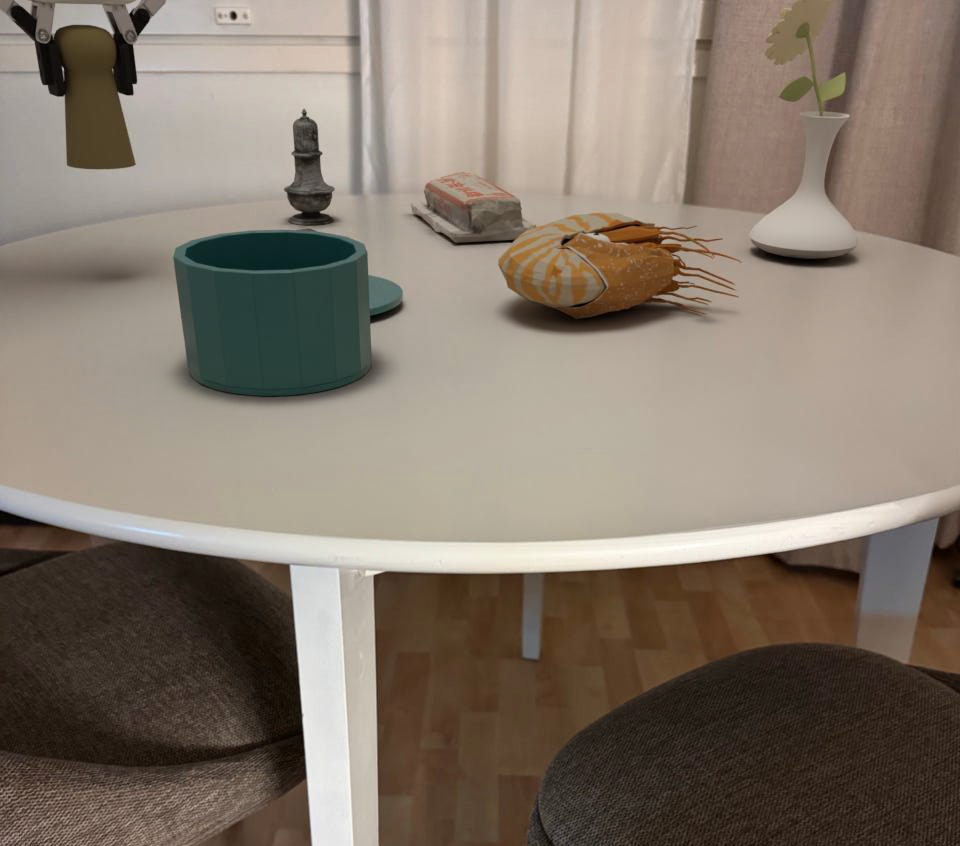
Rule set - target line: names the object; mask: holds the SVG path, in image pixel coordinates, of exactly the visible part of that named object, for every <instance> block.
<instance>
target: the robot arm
mask: <svg viewBox="0 0 960 846" xmlns="http://www.w3.org/2000/svg"><path fill="white" fill-rule="evenodd" d="M28 1H29V2H30V3H31V4H30V10H29V11H30V12H29V11H28V10H27V9H25V8H24V7H23V6H21V5H20V4H19V3H18V2H16V1H15V0H0V11H1V12H2V13H3V14H5V15H6V16H7V17H8V18H9V19H10V20H11V21H12V22H13V23H14V24H15V25H17V26H18V27H19V29H21V30H22V32H24V33H25V35H27V36H28V37H29V39H30V40H31V41H33V42H34V47H35V54H36V60H37V65H38V66H37V67H38V72H39V78H40V81H41V84H42V85H43V86H47V89H48V93H49V95H52V96H53V97H57V98H59V97H60V98H61V97H63V98H65V95H66V90H65V84H64V70H63V67H62V64H61V57H60V51H59V46H58V45H56V44H55V43H54V40H53V39H54V35H53V34H52V31H53V24H54V23H53V22H54V16H55V10H56V9H55V8H56V4H62V5H64V4H65V5H66V4H69V5H101V6H102V9H103V11H104V14H105V17H106V18H107V21H108V23H109V27H110V28H111V31H112V33H113V35H112V37H113V39H114V42H115V44H116V50H117V58H116V63H115V65H114V67H113V69H112V70H113V74H114V79H115V83H116V87H117V91H118V94H121V95H124V96H134V95H135V93H134V85H137V84H138V75H137V66H136V59H135V48H134V44H136V43H137V41H138V38H139V36H140V35H141V33H142V32H143V31H144V30H145V28H146V27H147V25H148V24H149V23H150V22H151V21H150V20H151V19H152V18H153V17H155V15H156V14H157V13H158V12H159V11H160V10H161V9H162V8H163V6H165V4H166V2H167V0H140V1H139V2H138V4H137V5H136V7H134V8H132V9H131V11H130V12H129V10H128V8H127V6H126V5H129V4H132V3H134V2H135V1H137V0H28Z"/></svg>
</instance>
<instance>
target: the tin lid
mask: <svg viewBox="0 0 960 846" xmlns="http://www.w3.org/2000/svg"><path fill="white" fill-rule="evenodd" d="M299 230H300V231H315V232H318V230H315V229H313V228H302V229H301V228H300V229H299ZM368 280H369V305H370V317H371V316H375V315H378V314H383V313H385V312H387V311H390V310H392V309H394V308H396V307H398V306H399V305H400V304H401V303H402V302H403V299H404V291H403V288H402V287H401V285H399V284H397V283H396V282H394V281H393V280H389V279H387V278H384V277H380V276H376V275H371V274H368Z"/></svg>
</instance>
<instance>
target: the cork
mask: <svg viewBox="0 0 960 846" xmlns="http://www.w3.org/2000/svg"><path fill="white" fill-rule="evenodd" d="M53 40H54V43H55V44H56V45H58V46H59V51H60V57H61V64H62V69H63V77H64V84H65V90H66V95H64V119H65V120H64V121H65V153H66V154H65V155H66V167H69V168H73V169H81V170H119V169H127V168H131V167H132V168H133V167H135V166H136V160H135V156H134V152H133V148H132V143H131V139H130V135H129V130H128V127H127V123H126V120H125V119H126V118H125V115H124V111H123V108H122V104H121V99H120V95H119V92H118V91H117V87H116V83H115V79H114V74H113V67H114V65H115V63H116V58H117V50H116V44H115V42H114V39H113V35H112V34H111V33H110V31H108V30H107V29H106V28H103V27H99V26H96V25H91V24H70V25H64V26H61V27H59V28H58V29H56V30H55V32H54V35H53Z"/></svg>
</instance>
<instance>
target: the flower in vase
mask: <svg viewBox="0 0 960 846" xmlns="http://www.w3.org/2000/svg"><path fill="white" fill-rule="evenodd" d="M832 6H833V3H832V0H794V2H793V3H792V5H791V8H790V7H785V8H783V9H782V10H781V12H780V14H779V19H780V20H778V22H777V23H776V24H774V25H773V26H772V28H771V31H770V33H769V34H768V35H767V37H766V38H765V43H766V44H771V45H769V47H767V49H765V51H764V56H766V58H767V59H768V60H769V61H772V60H774V62H773V65H775V66H778V65H781V66H783V65H785V64H786V63H788V62H793V61H794V60H795V59H796V58H797V56H798V55H799V56H802V55H803V54H804V53H806V52H807V50H808V53H809V57H810V63H811V75H812V80H811V79H810V78H809V77H808V76H800V77H798V78H796V79H793V80H792V81H790V82H789V83H788V84H787V85H786V86H784V88H783V90H781V92H780V94H779V96H778V98H779V99H781V100H784V101H786V102H790V103H795V102H798V101H800V100H801V99H802V98H803V97H804V96H806V94H808V92H810V91H811V89H812V87H813V89H814V93H815V98H816V102H817V107H818V110H817V111H816V110H812V111H811V110H810V111H801V112H798V116H799V118H800V120H801V122H802V125H803V128H804V134H805V157H804V167H803V173H802V177H801V180H800V183H799V186H798V188H797V190H796V191H795V193H794V194H793V195H792V196H790V197H789V199H787V200H786V201H785V202H783V203H782V204H781V205H779V206H778V207H776V208H775V209H773V210H772V211H770V212H769V213H768V214H766V215H765V216H764V217H762V218H761V219H760V220H759V221H758V222H757V223H756V224H755V225H754V226H752V229H751V230H750V233H749V235H748V237H749V240H750V242H751V244H753V245H754V246H755V247H757V248H759V249H760V250H762V251H764V252H766V253H770V254H773V255H776V256H781V257H785V258H794V259H803V260H804V259H805V260H806V259H807V260H816V259H817V260H818V259H819V260H820V259H828V258H835V257H836V258H837V257H840V256H843V255H845V254H849V253H850V252H852V251H854V249H856V247H857V246H858V244H859V241H858V234H857V232H856V231H855V230H854V228H853V226H852V224H850V222H849V221H848V220H847V219H846V218H845V216H843V214H842V213H841V212H840V211H839V210H838V209H837V208H836V206H834V204H833V203H832V202H831V200H830V199H829V197H828V196H827V193H826V189H825V178H826V172H827V167H828V162H829V158H830V153H831V150H832V147H833V144H834V142H835V139H836V138H837V137H836V136H837V134H838V133H839V131H840V130H841V128H842V127H843V125H844V124H845V123H846V122H847V120H848V119H849V118H850V116H851V115H850V114H848V113H845V112H844V113H843V112H836V111H824V109H823V104H822V102H825V101H828V100H832V99H834V98H835V99H836V98H838V97H840V96H842V95H843V94H844V92H845V90H846V82H847V81H846V77H847V76H846V72H845V71H844V72H842V73H840V74H838V75H837V76H835V77H833V78H831V79H829V80H827V81H825V82H822V83H821V84H819V85H818V81H817V80H818V79H817V73H816V72H817V71H816V61H815V60H816V59H815V54H814V49H813V45H812V44H813V43H814V42H815V41H816V39H817V37H818V36H820V34H821V33H822V32H823V31H824V26H823V25H824V24H825V23H826V22H827V20H828V18H829V16H830V14H829V13H830V11H831V8H832Z"/></svg>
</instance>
